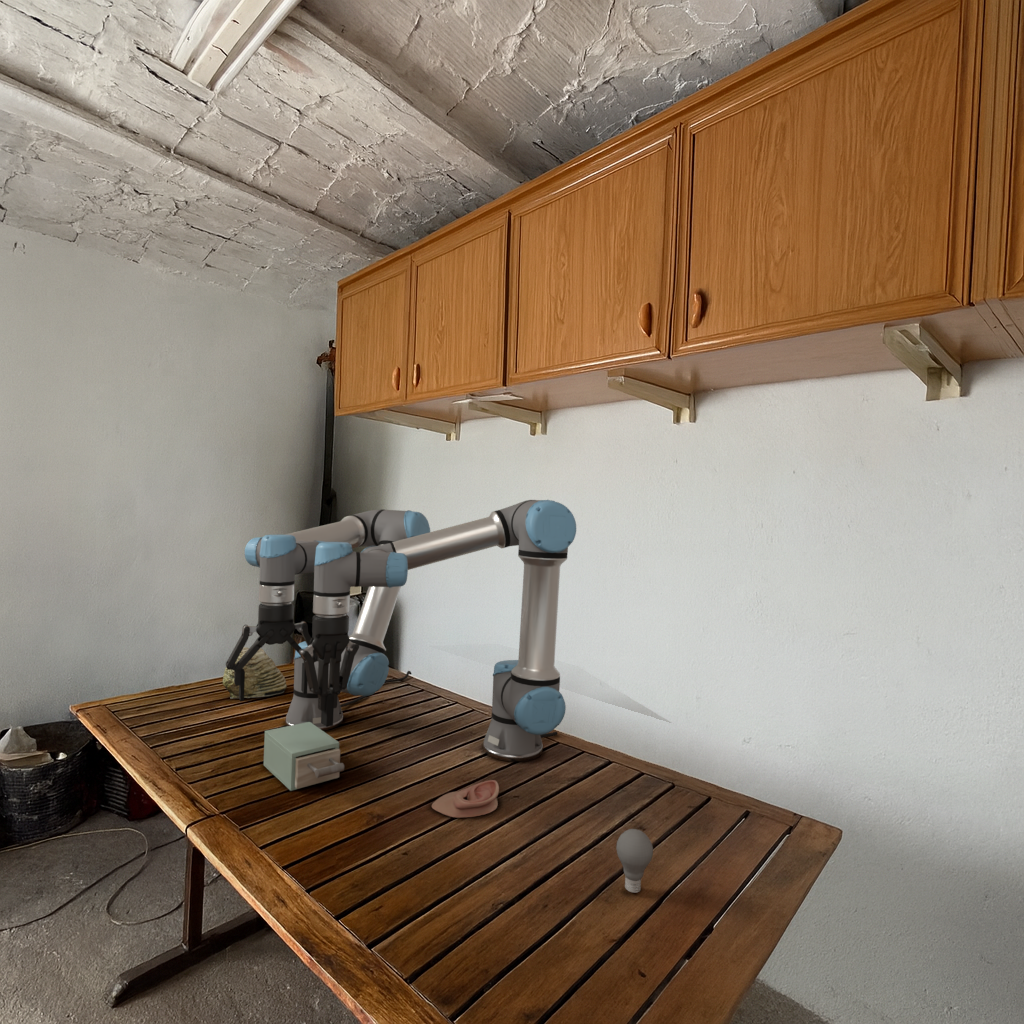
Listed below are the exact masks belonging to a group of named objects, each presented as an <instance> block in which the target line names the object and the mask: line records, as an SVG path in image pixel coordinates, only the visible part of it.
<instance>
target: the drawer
mask: <svg viewBox="0 0 1024 1024" xmlns="http://www.w3.org/2000/svg"><path fill="white" fill-rule="evenodd" d="M343 771H345V764H344V762H341V749H340V748H339V749H338V748H337V749H333V750H331V749H327V750H323V751H318V752H314V753H310V754H306V755H302V756H298V757H296V768H295V787H296V788H297V789H296V790H299V789H298V788H300V789H303V788H306V786H307V787H310V786H314V785H317V784H316V783H318V784H321V783H324V781H325V782H328V781H327V780H329V781H331V779H332V780H336V779H338V778H340V773H341V772H343ZM335 778H336V779H335ZM320 782H321V783H320ZM313 784H314V785H313ZM309 785H310V786H309ZM302 787H303V788H302Z"/></svg>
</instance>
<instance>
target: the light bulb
mask: <svg viewBox="0 0 1024 1024" xmlns="http://www.w3.org/2000/svg"><path fill="white" fill-rule="evenodd" d="M615 849H616V854H617V857H618V859H619V861H620V863H621V865H622V867H623V873H624V874H623V875H624V876H625V878H624V888H625V890H627V891H628V892H630V893H634V894H635V893H639V892H640V891H641V889H642V887H641V886H642V879H643V877H644V875H645V871H646V868H647V867H648V866H649V864H650V863H651V861H652V859H653V855H654V847H653V843H652V841H651V838H649V836H648V835H647V834H646V833H645V832H643V831H642V830H641V829H636V828H629V829H627V830H625V831H623V832H622V833H621V834H620V835H619V837H618V839H617V841H616V847H615Z"/></svg>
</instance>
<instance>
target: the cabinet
mask: <svg viewBox="0 0 1024 1024" xmlns="http://www.w3.org/2000/svg"><path fill="white" fill-rule="evenodd" d="M337 748H338V749H340V742H339V741H338V740H336V739H335V738H334V737H333V736H331V735H330V734H328V733H327V732H325V731H322V730H321V729H319V728H318V727H316V726H315V725H314V724H312V723H311V722H306V723H301V724H296V725H291V726H281V727H277V728H273V729H268V730H267V729H266V730H264V743H263V766H264V767H265V768H266V769H267V770H268V771H269V773H271V774H272V775H273V776H274V777H275V778H276V779H277V780H279V781H280V782H281V784H283V785H284V786H285V788H286V789H288V790H289V791H290V792H292V791H296V790H299V789H303V788H304V787H302V788H298V789H297V788H296V787H295V768H296V757H298V756H302V755H306V754H310V753H314V752H318V751H323V750H327V749H331V750H333V749H337ZM336 779H337V778H335V779H334V780H336ZM331 780H333V779H331ZM331 780H327V781H324V782H328V781H331ZM324 782H323V783H324ZM321 783H322V782H320V783H316V784H313V785H312V786H314V785H318V784H321ZM310 786H311V785H309V786H306V787H310ZM306 787H305V788H306Z"/></svg>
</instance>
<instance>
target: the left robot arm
mask: <svg viewBox="0 0 1024 1024" xmlns="http://www.w3.org/2000/svg"><path fill="white" fill-rule="evenodd" d="M429 532H431V527H430V523H429V521H428V518H427V517H426V515H424V513H422V512H420V511H414V510H413V511H412V510H400V509H399V510H397V509H383V508H381V509H380V508H379V509H372V510H371V509H370V510H367V511H363V512H359V513H355V514H350V515H347V516H344V517H343V518H342V519H341V520H340V521H336V522H332V523H327V524H324V525H320V526H313V527H310V528H306V529H302V530H298V531H294V532H293V531H292V532H288V533H284V534H265V535H263V536H261V537H259V536H257V537H252V538H251V539H250V540H249V541H248V542H247V543H246V545H245V548H244V558H245V560H246V562H247V564H249V565H250V566H252V567H257V568H258V569H259V587H258V602H260V603H259V604H258V613H257V624H256V625H255V626H254V625H248V624H244V625H243V626H242V630H241V635H240V637H239V639H238V641H237V642H236V643H235V646H234V648H233V650H232V651H231V654H230V655H229V656H228V659H227V660H226V662H225V668H226V667H227V669H228V670H230V669H231V670H234V683H235V685H236V686H238V685H239V698H238V699H239V701H240V702H244V701H245V698H244V685H245V671H244V669H243V667H244V666H245V665H246V664H247V663H248V662H249V661H250V659H251V658H252V657H253V656H254V655H255V654H256V652H257V651H258V650H259V649H260V648H261V649H262V648H263V647H264V646H265V644H266V645H269V646H272V645H275V644H276V645H284V644H285V643H286V642H287V643H288V644H289V645H290V646H291V647H292V648H293V649H294V650H295V652H294V653H295V654H294V657H293V662H294V663H293V665H294V666H293V695H292V696H293V697H292V699H291V702H290V704H289V708H288V711H287V713H286V715H285V727H287V726H291V725H296V724H301V723H306V722H311V723H312V724H314V725H315V726H316V727H318V728H319V729H321V730H322V731H324V732H325V731H329V730H332V729H335V728H337V727H339V726H340V725H342V723H343V722H344V714H343V709H342V708H344V707H347V706H351V705H352V704H355V703H357V702H359V701H362V700H364V699H365V698H366V697H370V696H372V695H374V694H376V693H377V692H378V691H380V690H381V688H382V687H383V685H384V684H389V683H397V682H401V681H404V680H406V679H407V678H408V677H409V676H410V675H412V672H411V670H407V672H406V674H405V675H404V676H403V677H399V678H392V679H387V678H388V675H389V672H390V667H389V665H390V661H389V658H388V656H387V655H386V652H387V648H386V647H385V644H384V640H385V638H386V634H387V631H388V628H389V625H390V621H391V619H392V616H393V612H394V610H395V607H396V603H397V600H398V597H399V594H400V591H401V589H402V586H399V587H391V588H389V587H367V591H366V594H365V597H364V599H363V603H362V605H361V609H360V611H359V614H358V616H357V620H356V623H355V625H354V628H353V631H352V633H351V634H350V635H348V636H349V638H350V641H351V642H352V643H355V644H357V645H359V649H358V651H357V653H356V654H355V656H354V660H353V664H352V668H351V672H350V676H349V680H348V684H347V688H346V689H345V690H341V691H340V693H345V694H349V695H352V696H356V697H357V696H359V697H358V698H355V699H353V700H350V701H347V702H345V703H341V702H340V699H339V698H338V701H337V708H334V712H333V725H332V726H327V727H326V726H325V725H323V724H322V723H321V710H319V709H318V694H317V695H316V694H314V693H312V692H311V691H310V690H309V685H308V680H307V675H306V670H305V665H304V661H303V658H302V657H301V655H300V654H299V650H300V649H305V648H306V647H308V646H309V645H310V641H311V639H312V636H311V635H310V633H309V626H308V625H309V624H308V623H307V622H306V621H304V620H301V621H300V622H297V623H295V622H294V615H295V614H294V612H295V611H294V609H295V604H293V602H294V600H295V584H296V583H295V582H296V581H295V580H296V575H302V574H312V573H314V565H315V554H316V547H317V545H318V544H319V543H322V542H346V543H350V544H351V545H352V549H356V548H359V547H366V548H367V547H370V546H380V545H384V544H388V543H392V542H395V541H399V540H403V539H406V538H410V537H414V536H418V535H422V534H425V533H429ZM295 630H297V631H298V632H299V633H301V636H302V637H303V639H304V641H302V642H299V643H297V642H296V641H295V640H294V638H293V637H292V634H293V633H294V632H295ZM255 632H256V634H257V635H258V637H257V638H256V639H255V640H254V642H253V644H251V646H249V647H248V648H249V649H248V650H247V652H246V653H245V654H244V655H243V656H242V657H241V658H240V660H239V661H238V662H237V663H236V664H235V662H236V660H237V659H238V657H239V655H240V653H241V651H242V649H243V648H244V647H245V646H246V644H247V642H248V640H249V637H251V636H253V634H254V633H255ZM345 651H346V649H345V650H344V651H343V653H342V654H341V662H340V669H341V665H342V661H343V657H344V654H345ZM312 658H313V660H314V665H315V670H316V675H317V680H318V656H317V654H316V653H315V651H314V650H313V656H312ZM329 669H330V663H329ZM328 692H330V691H329V672H328Z"/></svg>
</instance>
